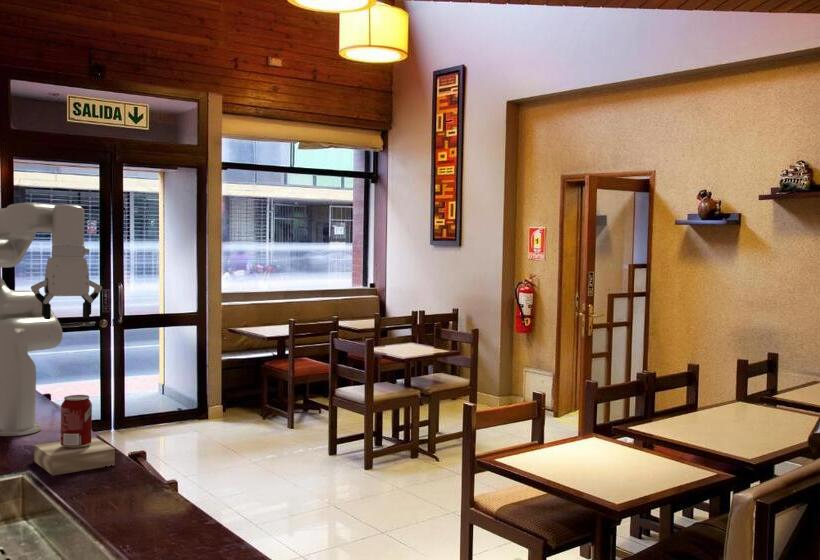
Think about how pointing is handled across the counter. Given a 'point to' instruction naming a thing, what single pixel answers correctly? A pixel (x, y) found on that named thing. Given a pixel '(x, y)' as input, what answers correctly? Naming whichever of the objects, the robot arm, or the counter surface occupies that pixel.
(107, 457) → the birch block
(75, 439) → the soda can
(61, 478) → the counter surface
